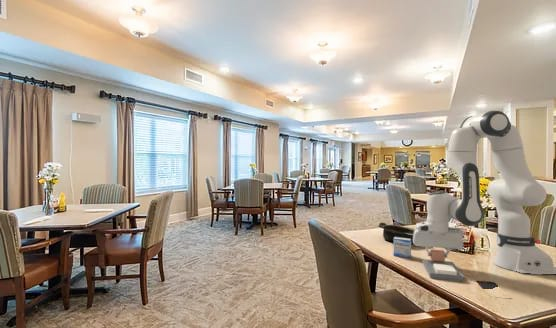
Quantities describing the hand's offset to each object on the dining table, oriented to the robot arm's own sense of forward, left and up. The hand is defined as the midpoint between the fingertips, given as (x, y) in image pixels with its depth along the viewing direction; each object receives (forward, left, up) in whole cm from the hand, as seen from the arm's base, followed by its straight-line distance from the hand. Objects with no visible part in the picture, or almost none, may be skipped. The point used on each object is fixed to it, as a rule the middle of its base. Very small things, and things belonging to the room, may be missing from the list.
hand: (437, 256), depth 130 cm
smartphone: (-14, +22, -4) cm, 26 cm away
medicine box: (+14, -8, -4) cm, 16 cm away
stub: (0, 0, -1) cm, 1 cm away
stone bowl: (+12, -37, -4) cm, 39 cm away
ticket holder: (0, +9, -3) cm, 10 cm away
